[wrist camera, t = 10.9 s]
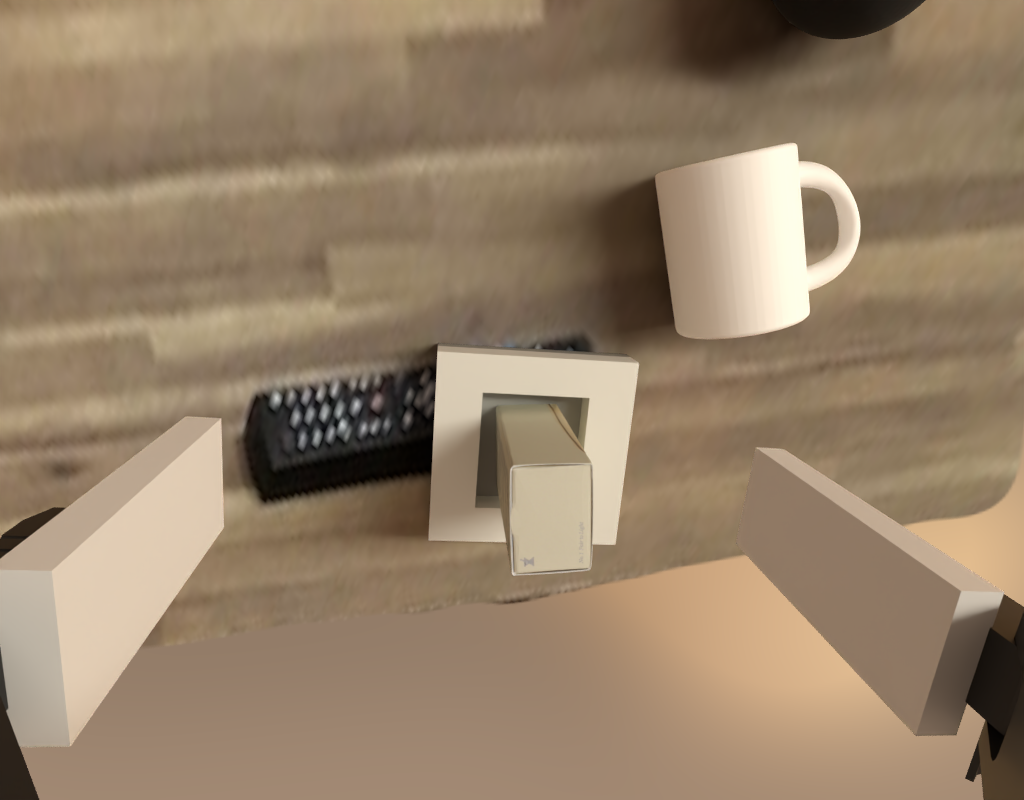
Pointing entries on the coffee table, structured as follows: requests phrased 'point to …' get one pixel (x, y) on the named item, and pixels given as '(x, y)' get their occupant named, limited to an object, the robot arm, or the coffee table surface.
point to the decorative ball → (844, 15)
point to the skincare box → (543, 490)
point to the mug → (747, 241)
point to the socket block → (515, 381)
